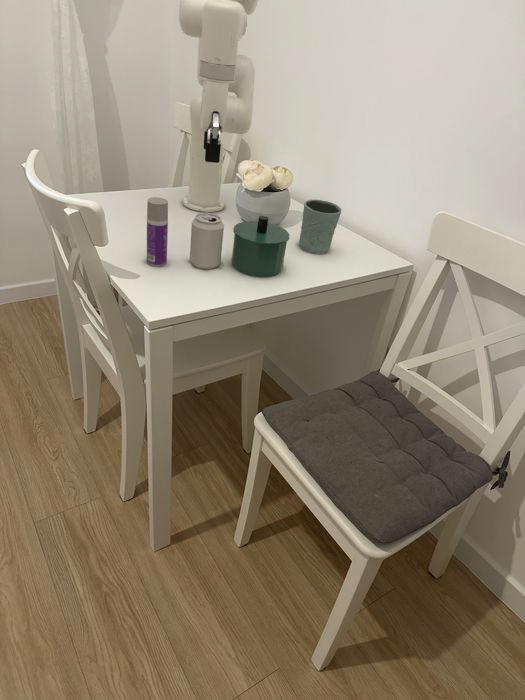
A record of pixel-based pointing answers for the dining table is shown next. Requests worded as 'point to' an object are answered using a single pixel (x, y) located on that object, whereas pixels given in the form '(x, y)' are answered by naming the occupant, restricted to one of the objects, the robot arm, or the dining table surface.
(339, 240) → the dining table surface
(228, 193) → the dining table surface
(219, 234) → the can
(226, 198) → the dining table surface
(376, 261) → the dining table surface
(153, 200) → the container
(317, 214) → the green textured cup
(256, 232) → the pot lid
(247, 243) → the pot
